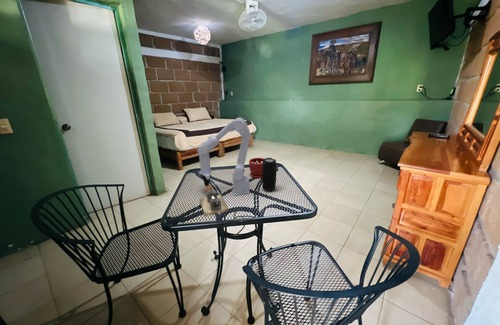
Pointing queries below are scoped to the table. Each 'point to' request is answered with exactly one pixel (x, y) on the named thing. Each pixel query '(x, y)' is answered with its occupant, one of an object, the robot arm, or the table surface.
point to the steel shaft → (209, 188)
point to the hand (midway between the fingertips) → (207, 185)
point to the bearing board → (213, 208)
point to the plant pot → (256, 167)
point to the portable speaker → (269, 174)
